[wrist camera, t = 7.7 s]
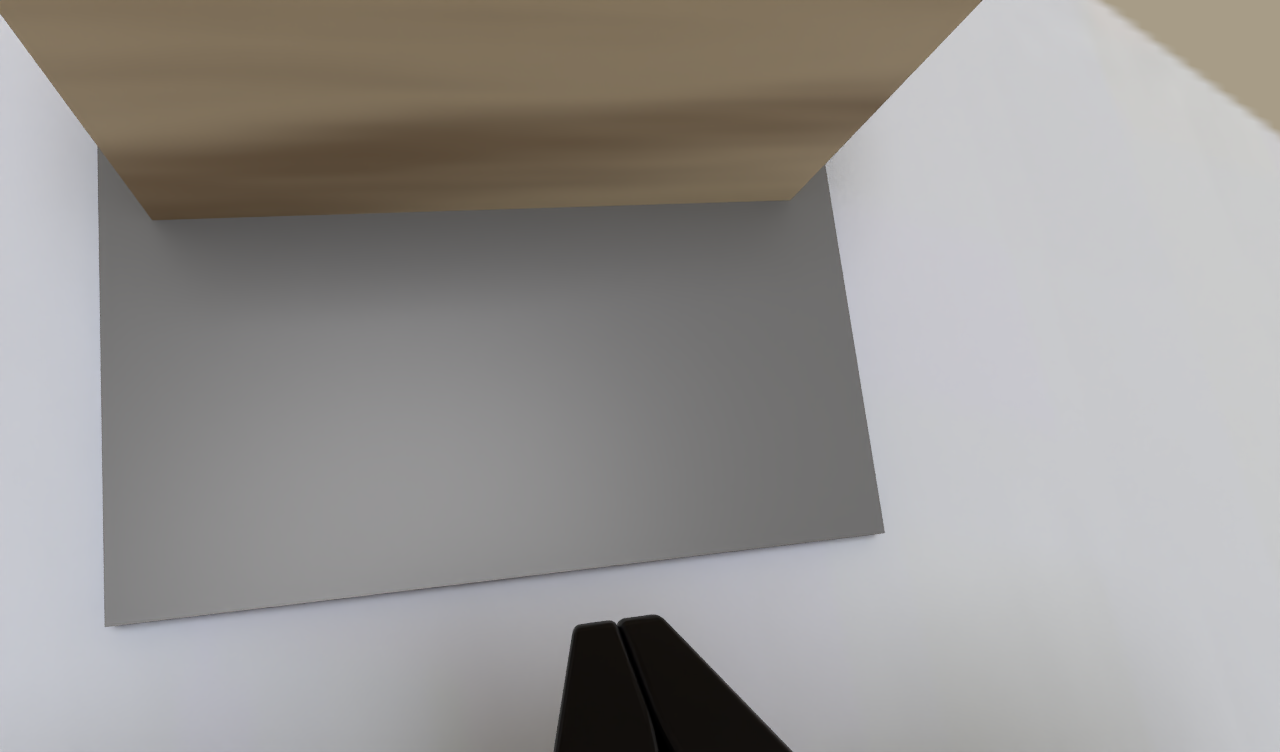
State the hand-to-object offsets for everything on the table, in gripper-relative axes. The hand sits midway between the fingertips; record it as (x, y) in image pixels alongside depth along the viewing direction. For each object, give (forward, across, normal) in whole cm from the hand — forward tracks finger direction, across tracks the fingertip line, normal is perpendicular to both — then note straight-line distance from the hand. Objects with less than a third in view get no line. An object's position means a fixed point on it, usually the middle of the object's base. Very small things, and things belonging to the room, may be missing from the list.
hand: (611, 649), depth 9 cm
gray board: (+10, 0, 0) cm, 10 cm away
